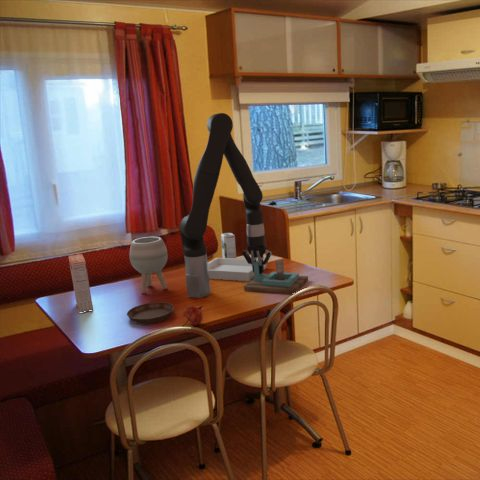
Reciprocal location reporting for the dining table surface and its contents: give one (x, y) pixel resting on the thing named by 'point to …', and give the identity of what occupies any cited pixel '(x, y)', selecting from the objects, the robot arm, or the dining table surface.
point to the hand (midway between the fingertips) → (258, 273)
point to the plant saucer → (150, 312)
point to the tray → (231, 269)
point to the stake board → (259, 287)
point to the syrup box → (228, 245)
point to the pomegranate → (193, 315)
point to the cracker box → (80, 282)
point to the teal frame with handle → (270, 278)
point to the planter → (148, 259)
